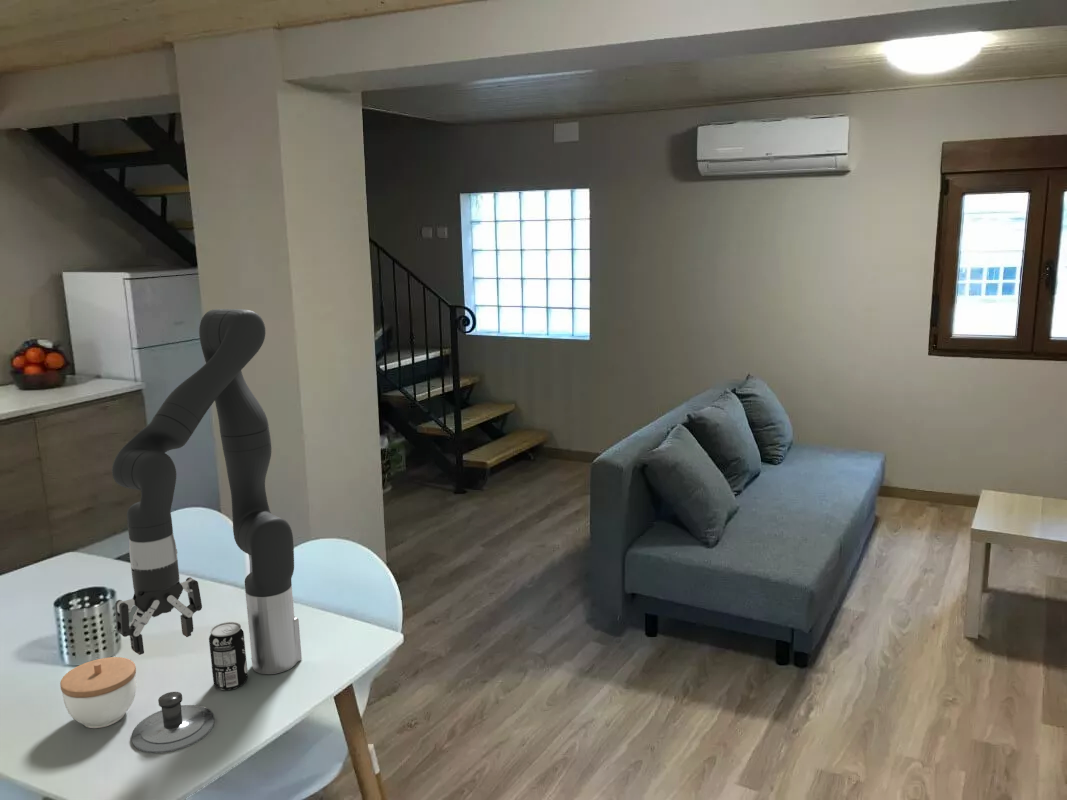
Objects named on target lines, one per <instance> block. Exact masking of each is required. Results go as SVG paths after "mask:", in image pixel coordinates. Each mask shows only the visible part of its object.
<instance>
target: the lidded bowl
mask: <svg viewBox="0 0 1067 800" xmlns="http://www.w3.org/2000/svg"><path fill="white" fill-rule="evenodd" d="M136 673H137V666H136V664H135V662H134V661H133V660H132V659H129V658H127V657H120V656H114V657H111V656H109V657H104V658H103V657H102V658H97V659H94V660H90V661H87V662H84V663H82V664H80V665H77V666H76V667H73V668H72V669H70V670H69V671H68V672H67V673H65V674H64V676H62V678H61V680H60V681H59V682H60V683H59V684H60V685H59V686H60V690H61V693H62V701H63V703H64V705H65V708H66V711H67V712H68V714H69V715H70V717H71V718H72V719H73V720H74V721H76V722H78V723H79V724H81V725H83V726H84V727H85V728H88V729H100V728H106V727H108V726H112V725H113V724H116V723H117V722H119V721H121V720H122V719H123V718H124V717H125V714H126V713H127V711H128V710H129V709H130V708H131V706H132V704H133V703H134V700H135V697H136V692H137V674H136Z"/></svg>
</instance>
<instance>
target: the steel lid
mask: <svg viewBox="0 0 1067 800" xmlns="http://www.w3.org/2000/svg"><path fill="white" fill-rule="evenodd" d="M182 702H183V695H182V692H179V691H170V692H167V693H164V694H162V695H160V696H159V697H158V706H159V707H160V708H161V710H159V711H156V712H154V713H152V714H150V715H148V716H147V717H145V718H144V719H142V720H141V721H140V722H139V723H137V725H135V727H134V729H133V730H132V732H131V741H132V744H133V746H134V748H136V749H137V750H138V751H141V752H145V753H149V754H150V753H151V754H161V753H162V754H163V753H170V752H174V751H179V750H182V749H185V748H187V747H189V746H192V745H193V744H194V745H195V744H197V742H199V741H200V740H202V739H203V738H205V737H206V736H207V735H209V733H210V732H211V731H212V729H213V727H214V726H215V716H214V713H213V712H212V710H211V709H209V708H207V707H205V706H203V705H202V706H201V705H197V704H185V705H181V703H182Z"/></svg>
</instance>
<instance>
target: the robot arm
mask: <svg viewBox="0 0 1067 800" xmlns="http://www.w3.org/2000/svg"><path fill="white" fill-rule="evenodd" d="M199 323H200V324H199V328H198V329H199V330H198V333H199V342H200V346H201V350H202V354H203V358H204V362H205V364H203V366H202V367H201V368H199V369H198V370H197V371H196V372H194V373H193V374H192V375H190V376H189V377H188V378H186V379H185V380H184V381H182V382H181V383H180V384H179V385H178V386H177V387H175V388H174V389H173V391H171V393H170V394H169V395H168V396H167V397H166V398H165V400H164V402H163V403H162V404H161V406H160V407H159V408H158V410H157V412H156V413H155V415H153V418H152V419H151V421H150V422H149V424H147V425H146V426H145V427H144V428H142V429H141V430H140V431H138V433H137V434H135V435H134V436H133V437H132V438H131V439H130V440H129V441H128V442H127V443H126V444H125V445H123V446H122V448H120V451H118V453H117V454H116V456H115V459H114V461H113V463H112V468H111V473H112V477H113V478H112V479H113V480H114V482H115V483H116V484H117V485H119V486H120V487H123V488H126V489H130V490H137V491H140V493H141V494H140V495H141V496H140V501H138V502H134V503H133V504H132V505H130V507H128V509H127V512H126V521H127V529H128V541H129V546H128V547H129V549H128V552H129V553H128V554H129V560H130V570H131V578H132V587H133V597H132V598H130V599H126V600H122V599H118V600H116V601H115V621H116V632H117V633H119V635H121V636H122V637H124V638H126V637H128V636H129V638H130V639H129V640H130V649H131V650H132V651H133V652H134V653H136V654H137V655H139V656H140V655H143V654H144V653H145V648H144V642H143V641H144V640H143V634H142V631H143V630H144V628H145V626H146V625H147V624H148V623H149V622H150V620H151V618H152V617H153V618H156V617H159V616H160V615H162V614H168V613H170V612H172V610H173V609H175V610H177V611H178V612H180V614H181V615H179V616H180V624H181V634H182V636H185V637H186V638H189V637H191V636H192V633H194V621H193V616H194V614H195V613H196V612H199V611H201V610H202V609H203V605H202V599H201V592H200V586H199V581H197V580H196V579H194V578H193V577H191V576H189V577H187V578H186V579H185V581H183V582H180V571H179V562H178V561H179V560H178V549H177V544H176V540H175V536H174V529H173V527H174V526H173V520H172V519H173V518H172V513H171V512H172V511H171V510H172V506H173V505H172V504H173V500H174V495H175V494H174V493H175V489H176V488H175V487H176V485H177V483H176V482H177V469H176V465H175V463H174V461H173V459H172V458H171V456H170V455H168V454H167V453H166V452H169V451H172V450H176V449H181V448H183V447H184V446H185V445H186V444H187V443H188V441H189V440H190V438H191V436H193V434H194V432H195V430H196V429H197V427H198V426H199V424H200V423H201V421H202V420H203V418H204V416H205V415H206V414H207V412H208V410H209V409H210V408H211V407H212V405H213V404H215V408H216V413H217V418H218V426H219V433H220V440H221V445H222V451H223V456H224V461H225V467H226V472H227V473H226V474H227V478H228V483H229V484H228V485H229V489H230V497H231V510H232V511H231V514H232V515H231V516H232V530H233V531H232V533H233V537H234V538H233V539H234V541H235V543H236V546H237V547H238V548H239V550H241V551H242V552H244V553H245V554H247V555H249V556H250V557H251V572H250V573H248V574H247V575H246V577H245V578H244V589H245V590H244V591H245V602H246V613H247V620H248V631H249V632H248V633H249V634H248V635H249V643H250V645H249V646H250V654H251V655H250V656H251V658H250V659H251V664H252V665H251V666H252V669H253V671H254V672H255V673H257V674H261V675H274V674H275V675H276V674H279V673H284V672H286V671H288V670H291V669H292V668H293V667H294V666H296V665H297V664H298V662H300V661H301V660H302V659H303V657H302V645H301V634H300V631H301V630H300V620H299V618H298V617H296V616H295V609H294V608H295V607H294V597H293V586H292V585H293V584H292V578H293V575H294V570H295V552H294V551H295V550H294V549H295V547H294V535H293V531H292V528H291V525H290V524H289V522H288V521H286V520H285V519H284V518H282V517H280V516H278V515H275V514H273V513H272V512H271V509H270V506H269V502H268V497H267V493H266V492H267V491H266V478H267V473H268V469H269V466H270V461H271V457H272V439H271V432H270V426H269V425H270V424H269V421H268V418H267V415H266V412H265V411H264V409H263V407H262V405H261V404H260V403H259V401H258V399H257V397H255V395H254V394H253V392H252V390H251V389H250V387H249V385H248V383H247V382H246V380H245V378H244V375H243V372H242V370H243V368H245V367H246V366H247V365H248V364H249V363H250V361H251V360H252V359H253V358H254V357H255V356H256V355H257V353H258V352H259V350H260V349H261V348H262V346H263V344H264V342H265V339H266V325H265V323H264V320H263V318H262V317H261V316H260V315H259V313H257V312H255V311H253V310H250V309H245V308H244V309H239V308H215V309H211V310H208V311H207V312H206V313H204V315H203V316H202V318H201V319H200V322H199ZM214 402H215V403H214ZM183 591H185V592H187V596H188V602H189V604H188V605H187V606H186V605H185V604H184V603H182V602H181V601H180V600H179V599H180V597H181V595H182V593H183ZM134 606H135V607H136V610H135V613H134V614H133V616H132V621H131V622H130V615H129V614H130V613H131V612H132V610H133V609H132V608H133V607H134Z"/></svg>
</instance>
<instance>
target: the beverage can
mask: <svg viewBox="0 0 1067 800" xmlns="http://www.w3.org/2000/svg"><path fill="white" fill-rule="evenodd" d="M208 643H209V651H210V652H209V653H210V660H211V672H212V680H213V685H214V686H215V687H216V688H218V689H219V690H221V691H232V690H235V689H238V688H241V687H242V686H243V685H244V684H245V683H246V681H247V680H248V679H249V677H248V676H249V675H248V664H247V654H246V644H245V643H246V642H245V632H244V630H243V629H242V625H241V624H240V623H238V622H234V621H227V622H221V623H219V624H216V625H215V626H213V627H211V629H210V635H209V637H208Z"/></svg>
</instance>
